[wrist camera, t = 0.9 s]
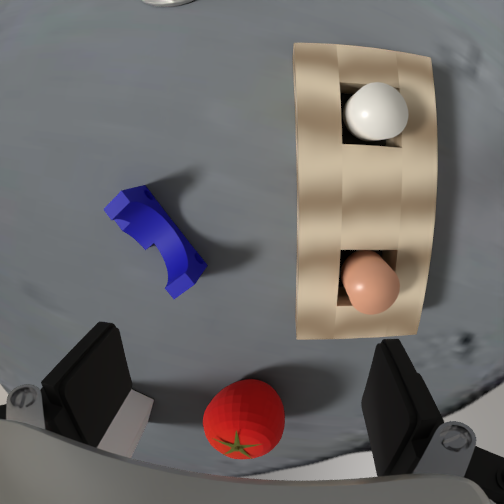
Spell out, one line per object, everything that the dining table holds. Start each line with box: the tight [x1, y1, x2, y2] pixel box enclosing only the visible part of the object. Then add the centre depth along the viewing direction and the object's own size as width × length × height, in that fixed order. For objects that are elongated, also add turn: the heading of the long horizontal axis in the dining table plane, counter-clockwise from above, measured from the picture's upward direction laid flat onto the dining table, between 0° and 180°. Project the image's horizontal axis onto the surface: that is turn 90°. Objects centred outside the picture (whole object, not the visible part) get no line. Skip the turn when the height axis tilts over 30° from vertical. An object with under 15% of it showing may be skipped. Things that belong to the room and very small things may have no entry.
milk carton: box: [97, 389, 154, 458], centre depth 36 cm, size 7×7×19 cm
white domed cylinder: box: [343, 82, 408, 141], centre depth 25 cm, size 5×5×5 cm
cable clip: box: [104, 185, 208, 299], centre depth 33 cm, size 12×4×6 cm, turn 37°
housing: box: [293, 43, 437, 339], centre depth 30 cm, size 30×14×5 cm, turn 2°
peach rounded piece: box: [341, 250, 400, 315], centre depth 29 cm, size 5×5×5 cm
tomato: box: [203, 379, 285, 459], centre depth 37 cm, size 10×11×11 cm
